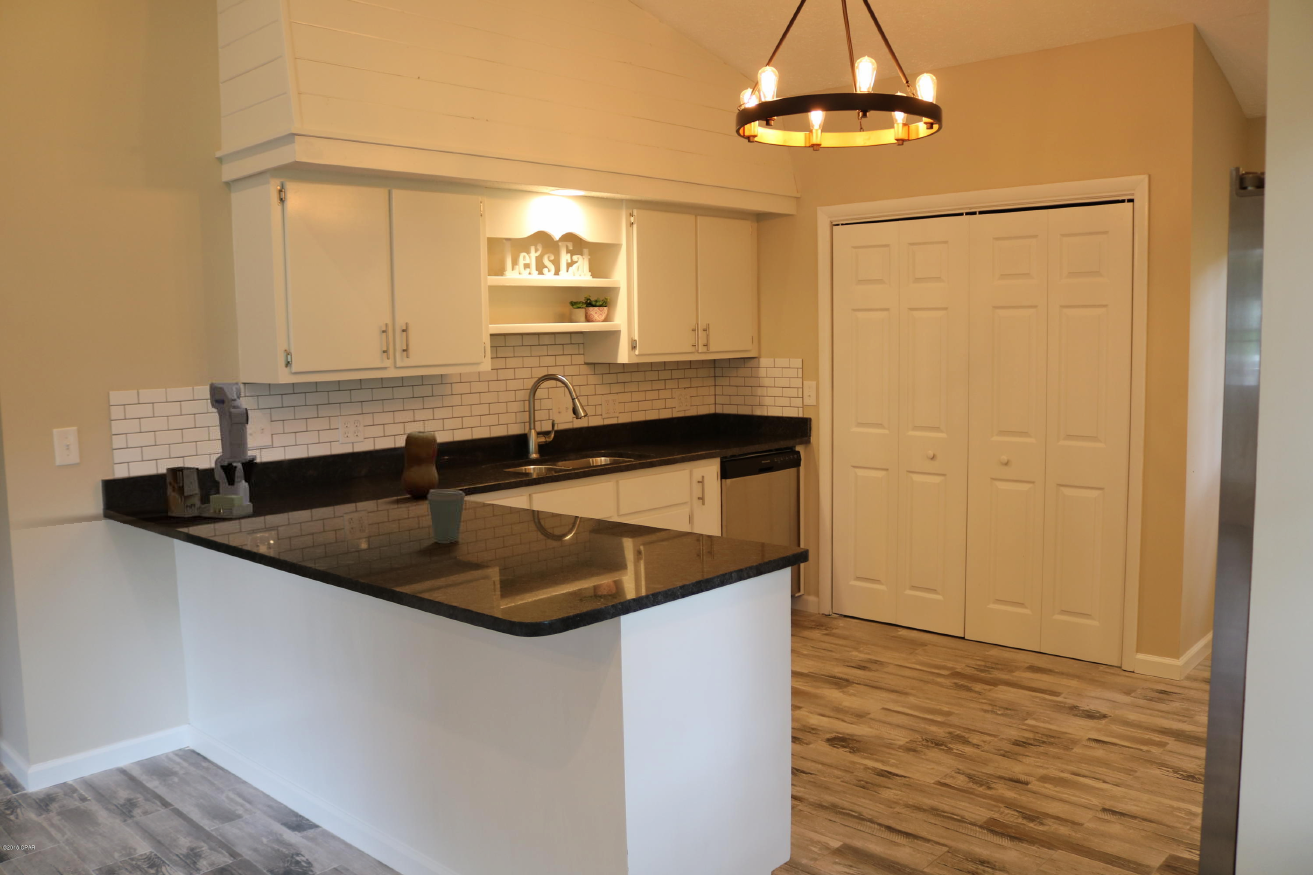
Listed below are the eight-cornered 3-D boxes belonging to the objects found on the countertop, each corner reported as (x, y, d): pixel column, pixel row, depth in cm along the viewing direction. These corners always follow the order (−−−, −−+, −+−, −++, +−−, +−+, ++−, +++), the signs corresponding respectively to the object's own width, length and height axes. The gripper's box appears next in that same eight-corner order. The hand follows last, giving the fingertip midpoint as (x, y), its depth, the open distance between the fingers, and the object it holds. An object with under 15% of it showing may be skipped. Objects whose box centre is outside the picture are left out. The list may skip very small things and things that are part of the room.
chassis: (199, 516, 334) (198, 505, 334) (219, 512, 343) (218, 501, 342) (233, 518, 330) (232, 507, 329) (252, 514, 338) (252, 503, 338)
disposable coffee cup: (449, 536, 296) (449, 486, 294) (474, 541, 289) (473, 489, 288) (420, 542, 287) (419, 489, 286) (444, 546, 281) (443, 493, 279)
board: (210, 507, 335) (209, 496, 335) (219, 506, 339) (218, 494, 339) (234, 509, 332) (234, 497, 332) (243, 507, 336) (242, 495, 336)
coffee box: (202, 515, 337) (200, 467, 335) (185, 517, 331) (183, 469, 330) (183, 513, 341) (182, 465, 340) (166, 515, 335) (165, 467, 334)
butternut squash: (433, 500, 371) (432, 432, 369) (397, 500, 371) (396, 432, 369) (442, 494, 385) (441, 429, 383) (407, 494, 385) (406, 429, 383)
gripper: (231, 446, 330) (233, 487, 332) (263, 442, 344) (264, 482, 345) (214, 445, 333) (216, 486, 334) (246, 442, 346) (248, 481, 348)
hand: (239, 484), depth 340 cm, fingers open, 7 cm apart
